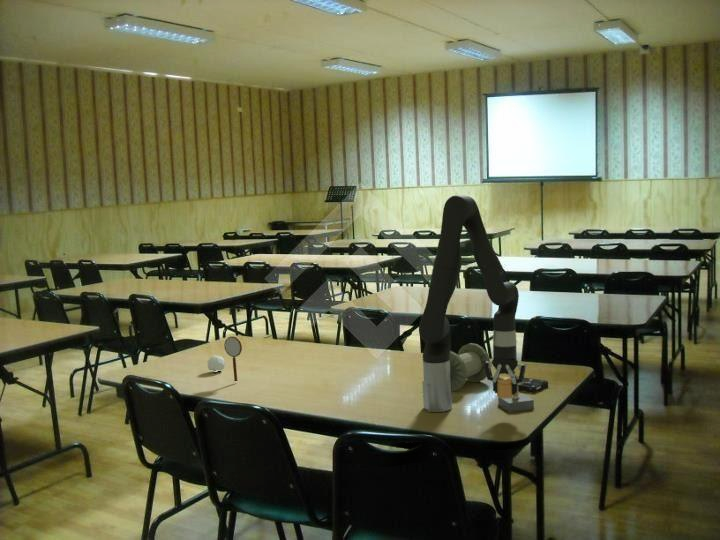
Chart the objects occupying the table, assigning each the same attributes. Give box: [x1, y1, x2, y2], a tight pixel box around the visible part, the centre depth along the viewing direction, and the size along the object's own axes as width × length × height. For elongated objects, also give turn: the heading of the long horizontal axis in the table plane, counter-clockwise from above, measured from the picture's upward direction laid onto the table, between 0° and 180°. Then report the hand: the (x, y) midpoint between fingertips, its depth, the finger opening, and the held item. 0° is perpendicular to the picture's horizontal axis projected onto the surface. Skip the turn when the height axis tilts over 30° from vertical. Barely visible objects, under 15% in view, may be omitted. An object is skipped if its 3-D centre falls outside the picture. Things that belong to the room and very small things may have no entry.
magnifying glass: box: [224, 336, 243, 382], centre depth 311 cm, size 9×2×20 cm, turn 62°
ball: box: [207, 355, 226, 371], centre depth 333 cm, size 8×8×8 cm
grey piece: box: [497, 391, 535, 413], centre depth 257 cm, size 9×9×7 cm
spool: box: [449, 342, 491, 392], centre depth 287 cm, size 16×15×15 cm
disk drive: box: [517, 376, 549, 394], centre depth 280 cm, size 10×3×15 cm
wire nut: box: [496, 376, 514, 399], centre depth 246 cm, size 5×5×6 cm
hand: (505, 393), depth 246 cm, fingers closed on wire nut, 5 cm apart
